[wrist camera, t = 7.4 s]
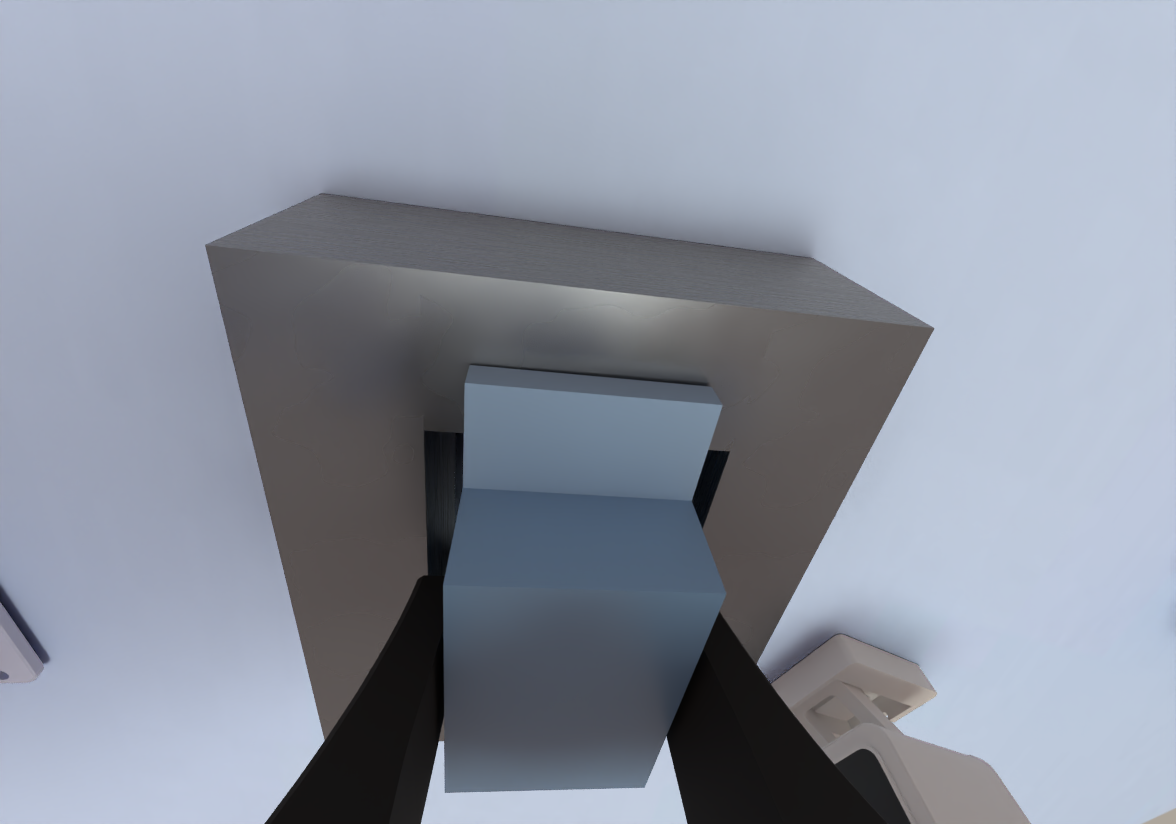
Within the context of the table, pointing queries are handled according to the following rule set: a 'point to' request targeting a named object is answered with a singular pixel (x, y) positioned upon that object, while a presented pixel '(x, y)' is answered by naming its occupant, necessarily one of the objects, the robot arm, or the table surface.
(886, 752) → the security camera
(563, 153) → the table surface
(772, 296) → the frame
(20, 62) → the table surface
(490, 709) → the block
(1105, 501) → the table surface
